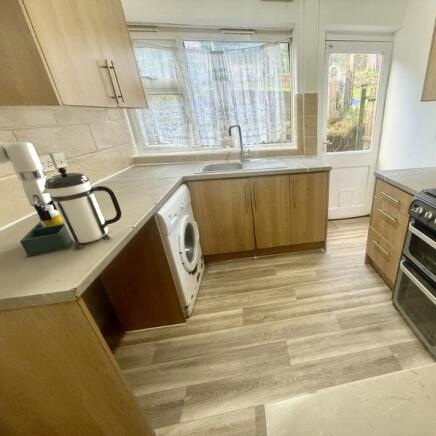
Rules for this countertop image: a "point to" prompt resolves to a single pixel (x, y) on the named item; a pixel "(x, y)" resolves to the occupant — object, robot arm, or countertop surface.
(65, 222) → the coffee press
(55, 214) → the supplement bottle
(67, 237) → the box
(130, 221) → the countertop surface
